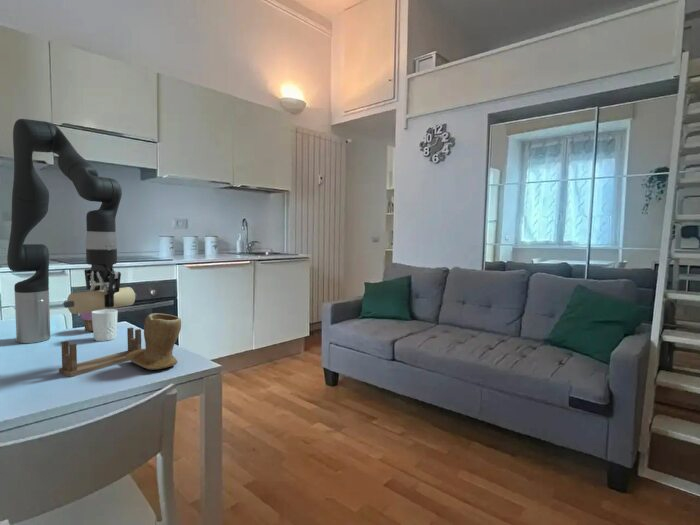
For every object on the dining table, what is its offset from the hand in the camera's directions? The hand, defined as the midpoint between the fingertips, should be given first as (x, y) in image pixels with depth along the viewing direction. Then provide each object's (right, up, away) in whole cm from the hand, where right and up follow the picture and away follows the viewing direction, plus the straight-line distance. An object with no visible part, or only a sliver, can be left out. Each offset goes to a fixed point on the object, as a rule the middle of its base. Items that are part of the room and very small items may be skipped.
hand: (103, 305), depth 115 cm
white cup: (-16, -15, +27) cm, 35 cm away
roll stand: (0, -17, +1) cm, 17 cm away
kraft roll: (0, -1, 0) cm, 1 cm away
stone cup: (+14, -18, +3) cm, 23 cm away
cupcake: (-27, -14, +37) cm, 48 cm away
